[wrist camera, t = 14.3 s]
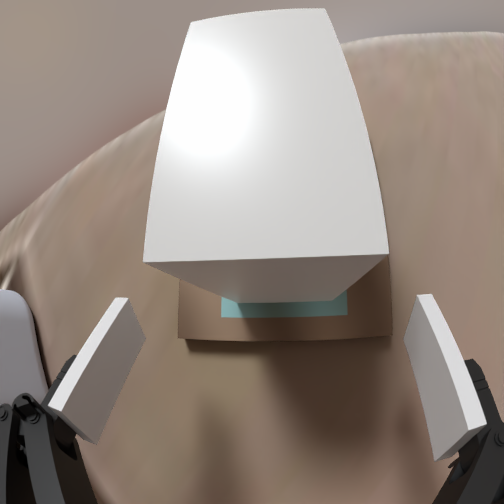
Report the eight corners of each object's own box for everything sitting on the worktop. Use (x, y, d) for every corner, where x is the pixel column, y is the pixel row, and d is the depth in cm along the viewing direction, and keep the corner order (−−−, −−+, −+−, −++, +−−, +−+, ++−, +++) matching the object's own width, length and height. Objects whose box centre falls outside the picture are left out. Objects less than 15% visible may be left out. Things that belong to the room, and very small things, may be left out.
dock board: (362, 132, 22) (364, 123, 21) (387, 334, 18) (392, 335, 17) (197, 142, 24) (193, 134, 23) (184, 337, 20) (177, 338, 19)
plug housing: (319, 149, 20) (324, 8, 9) (332, 300, 18) (389, 253, 6) (239, 153, 21) (191, 22, 10) (237, 303, 19) (142, 262, 7)
